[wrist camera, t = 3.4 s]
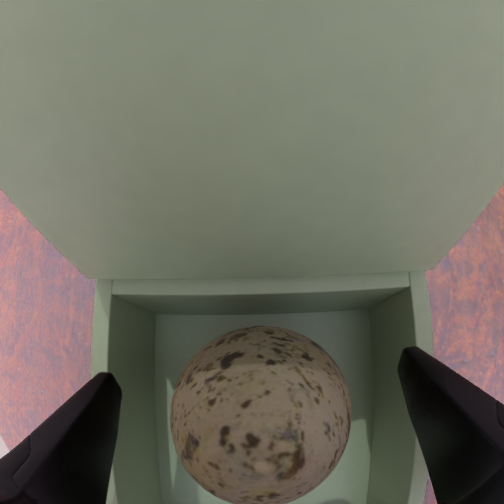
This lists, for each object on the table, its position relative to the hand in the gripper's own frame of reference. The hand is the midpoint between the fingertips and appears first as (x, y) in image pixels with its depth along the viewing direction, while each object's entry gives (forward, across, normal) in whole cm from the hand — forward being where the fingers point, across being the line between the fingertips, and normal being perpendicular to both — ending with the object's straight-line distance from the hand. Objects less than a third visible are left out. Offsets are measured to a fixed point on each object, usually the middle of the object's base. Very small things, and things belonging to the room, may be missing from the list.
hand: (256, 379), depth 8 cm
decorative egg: (+4, 0, +5) cm, 6 cm away
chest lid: (-2, 0, -9) cm, 9 cm away
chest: (+2, 0, +8) cm, 8 cm away
